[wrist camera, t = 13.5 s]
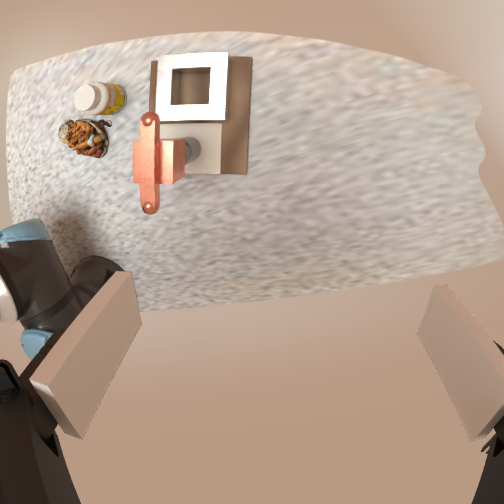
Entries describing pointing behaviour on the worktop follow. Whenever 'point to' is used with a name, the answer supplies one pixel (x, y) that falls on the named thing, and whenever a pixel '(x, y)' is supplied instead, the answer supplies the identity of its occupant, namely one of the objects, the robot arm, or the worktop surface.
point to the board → (237, 126)
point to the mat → (208, 140)
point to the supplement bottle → (100, 98)
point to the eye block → (171, 86)
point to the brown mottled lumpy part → (85, 136)
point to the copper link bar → (159, 160)
